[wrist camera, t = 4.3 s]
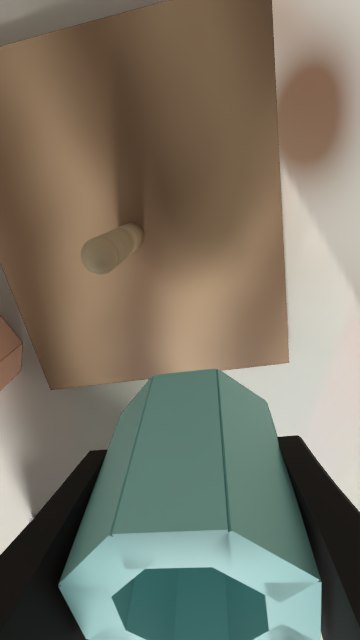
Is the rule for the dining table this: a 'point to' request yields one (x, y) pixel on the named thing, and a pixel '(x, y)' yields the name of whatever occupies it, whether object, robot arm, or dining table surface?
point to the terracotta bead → (9, 354)
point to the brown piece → (145, 193)
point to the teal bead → (193, 524)
